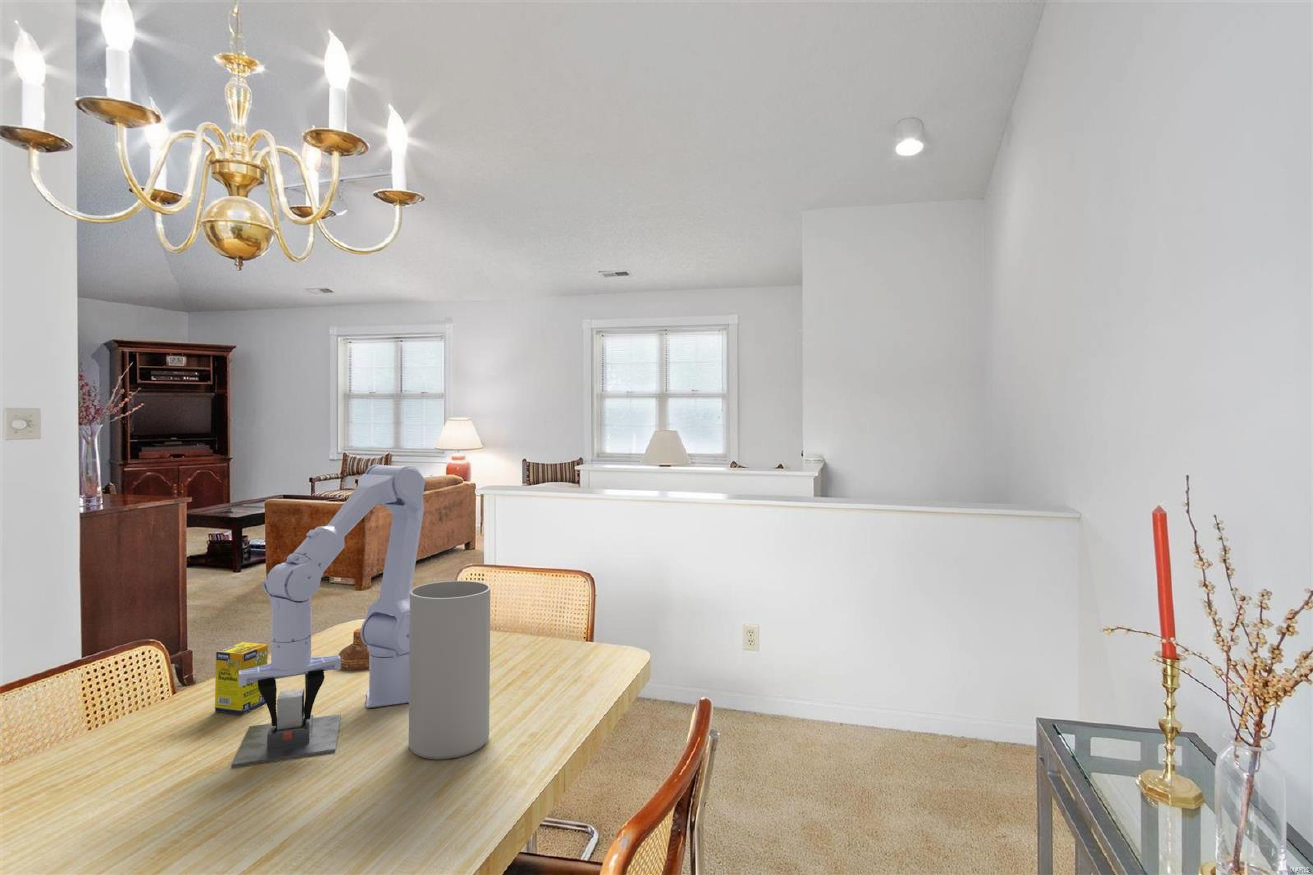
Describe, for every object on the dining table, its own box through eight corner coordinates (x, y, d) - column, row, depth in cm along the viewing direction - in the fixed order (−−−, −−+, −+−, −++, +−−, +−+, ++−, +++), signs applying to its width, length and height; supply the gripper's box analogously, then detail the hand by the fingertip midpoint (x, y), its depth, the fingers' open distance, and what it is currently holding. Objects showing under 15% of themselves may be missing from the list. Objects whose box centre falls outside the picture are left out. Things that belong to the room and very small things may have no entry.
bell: (373, 650, 155) (373, 618, 155) (403, 661, 148) (404, 628, 148) (323, 664, 146) (323, 630, 146) (353, 676, 139) (354, 641, 139)
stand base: (341, 716, 118) (341, 702, 118) (335, 752, 105) (335, 735, 105) (249, 729, 113) (249, 713, 113) (231, 767, 100) (231, 750, 100)
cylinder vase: (503, 732, 113) (505, 584, 112) (458, 767, 101) (460, 601, 101) (441, 721, 117) (442, 578, 117) (391, 753, 105) (392, 594, 105)
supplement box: (241, 715, 118) (242, 654, 118) (213, 712, 120) (214, 651, 120) (268, 702, 124) (268, 643, 124) (241, 699, 125) (241, 641, 125)
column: (304, 729, 111) (304, 688, 111) (301, 739, 108) (302, 696, 108) (279, 733, 110) (280, 691, 110) (276, 742, 107) (276, 699, 107)
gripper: (337, 624, 116) (336, 702, 116) (238, 637, 108) (238, 721, 109) (343, 635, 110) (342, 717, 110) (239, 650, 102) (238, 738, 103)
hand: (291, 720), depth 109 cm, fingers closed on column, 4 cm apart
